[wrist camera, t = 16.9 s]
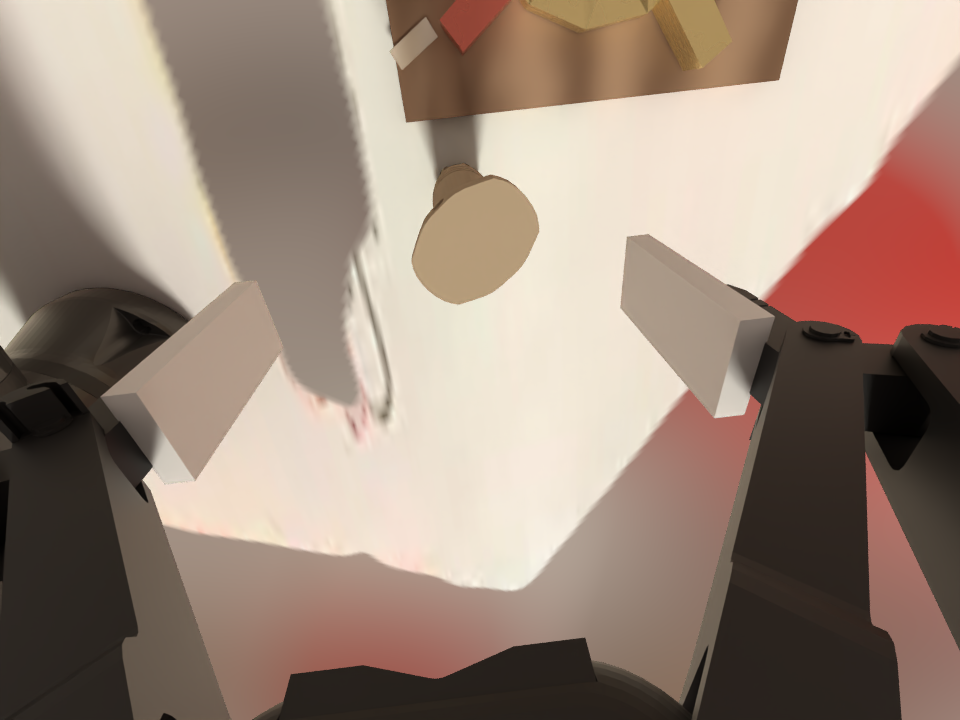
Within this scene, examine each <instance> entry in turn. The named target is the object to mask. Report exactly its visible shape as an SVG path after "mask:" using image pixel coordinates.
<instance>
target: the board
mask: <svg viewBox="0 0 960 720" xmlns="http://www.w3.org/2000/svg"><path fill="white" fill-rule="evenodd" d="M455 1H456V0H386V3H387V9H388V15H389V21H390V27H391V33H392V39H393V45H394V48H392V49H391V50H390V53H391V54H392V56H393V57H394V59H395V60H396V63H397V70H398V76H399V82H400V88H401V94H402V100H403V106H404V112H405V118H406V122H415V121H423V120H432V119H441V118H450V117H459V116H467V115H476V114H485V113H494V112H503V111H511V110H520V109H529V108H538V107H547V106H556V105H564V104H573V103H582V102H591V101H600V100H608V99H617V98H626V97H635V96H644V95H652V94H661V93H670V92H679V91H688V90H696V89H705V88H714V87H723V86H732V85H740V84H749V83H758V82H767V81H776V80H779V78H780V74H781V69H782V65H783V61H784V57H785V53H786V49H787V44H788V40H789V36H790V32H791V28H792V23H793V19H794V15H795V11H796V7H797V3H798V0H714V1H715V3H716V5H717V7H718V10H719V12H720V14H721V17H722V19H723V21H724V23H725V26H726V28H727V30H728V32H729V35H730V37H731V39H732V42H731V43H730V44H729V45H728V46H727V47H725V48H724V49H723V50H722V51H721V52H720V53H719V54H718V55H716V56H715V57H714V58H713V59H712V60H711V61H710V62H709V63H708V64H706V65H705V66H704V67H703V68H700V69H693V70H686V71H683V70H682V68H681V66H680V64H679V63H678V61H677V59H676V57H675V55H674V53H673V51H672V49H671V47H670V45H669V43H668V41H667V39H666V37H665V35H664V33H663V31H662V29H661V27H660V25H659V23H658V21H657V19H656V18H655V16H654V14H653V12H652V10H650V11H649V12H648V14H646V15H643V16H641V17H639V18H636V19H632V20H628V21H624V22H620V23H616V24H613V25H609V26H605V27H601V28H597V29H593V30H590V31H586V32H582V33H577V32H575V31H573V30H571V29H568V28H566V27H564V26H561V25H559V24H557V23H555V22H552V21H550V20H548V19H545V18H543V17H541V16H539V15H536V14H534V13H532V12H530V11H527V10H525V9H524V7H523V6H522V4H521V3H520V1H519V0H512V1H511V2H510V3H509V4H508V5H507V6H506V7H505V9H504V10H503V11H502V12H501V13H500V14H499V15H498V17H497V18H496V19H495V20H494V21H493V22H492V23H491V25H490V26H489V27H488V28H487V29H486V30H485V31H484V32H483V34H482V35H481V36H480V37H479V38H478V39H477V40H476V42H475V43H474V44H473V45H472V46H471V47H470V48H469V49H468V51H467V52H466V53H465V54H464V55H463V56H462V54H461V53H460V52H459V50H458V49H457V48H456V46H455V45H454V44H453V42H452V41H451V40H450V38H449V37H448V36H447V34H446V33H445V32H444V30H443V29H442V28H441V25H440V19H441V17H442V16H443V15H444V14H445V13H446V11H447V10H448V9H449V8H450V7H451V5H452V4H453V3H454V2H455Z"/></svg>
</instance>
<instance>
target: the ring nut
mask: <svg viewBox="0 0 960 720" xmlns="http://www.w3.org/2000/svg"><path fill="white" fill-rule="evenodd" d="M511 1H512V0H456V1H455V2H454V3H453V4H452V5H451V7H450V8H449V9H448V10H447V11H446V13H445V14H444V15H443V16H442V17H441V19H440V25H441V28H442V29H443V30H444V32H445V33H446V34H447V36H448V37H449V38H450V40H451V41H452V42H453V44H454V45H455V46H456V48H457V49H458V50H459V52H460V53H461V54H462V56H463V55H464V54H465V53H466V52H467V51H468V49H469V48H470V47H471V46H472V45H473V44H474V43H475V42H476V40H477V39H478V38H479V37H480V36H481V35H482V34H483V32H484V31H485V30H486V29H487V28H488V27H489V26H490V25H491V23H492V22H493V21H494V20H495V19H496V18H497V17H498V15H499V14H500V13H501V12H502V11H503V10H504V9H505V7H506V6H507V5H508V4H509V3H510V2H511ZM519 1H520V3H521V4H522V6H523V7H524V9H525V10H527V11H530V12H532V13H534V14H536V15H539V16H541V17H543V18H545V19H548V20H550V21H552V22H555V23H557V24H559V25H561V26H564V27H566V28H568V29H571V30H573V31H575V32H577V33H582V32H586V31H590V30H593V29H597V28H601V27H605V26H609V25H613V24H616V23H620V22H624V21H628V20H632V19H636V18H639V17H641V16H643V15H646V14H648V12H649V11H650V10H652V12H653V14H654V16H655V18H656V19H657V21H658V23H659V25H660V27H661V29H662V31H663V33H664V35H665V37H666V39H667V41H668V43H669V45H670V47H671V49H672V51H673V53H674V55H675V57H676V59H677V61H678V63H679V64H680V66H681V68H682V70H683V71H686V70H693V69H700V68H703V67H704V66H705V65H706V64H708V63H709V62H710V61H711V60H712V59H713V58H714V57H715V56H716V55H718V54H719V53H720V52H721V51H722V50H723V49H724V48H725V47H727V46H728V45H729V44H730V43H731V42H732V39H731V37H730V35H729V32H728V30H727V28H726V26H725V23H724V21H723V19H722V17H721V14H720V12H719V10H718V7H717V5H716V3H715V1H714V0H519Z"/></svg>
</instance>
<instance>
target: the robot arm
mask: <svg viewBox="0 0 960 720" xmlns="http://www.w3.org/2000/svg"><path fill="white" fill-rule="evenodd" d="M620 308H621V309H622V310H623V311H624V313H625V314H626V315H627V316H628V317H629V318H630V320H631V321H632V322H633V323H634V324H635V326H636V327H637V328H638V329H639V330H640V331H641V333H642V334H643V335H644V336H645V337H646V338H647V340H648V341H649V342H650V343H651V344H652V346H653V347H654V348H655V349H656V350H657V351H658V353H659V354H660V355H661V356H662V357H663V358H664V360H665V361H666V362H667V363H668V364H669V365H670V367H671V368H672V369H673V370H674V371H675V373H676V374H677V375H678V376H679V377H680V378H681V380H682V381H683V382H684V383H685V384H686V385H687V387H688V388H689V389H690V390H691V391H692V393H693V394H694V395H695V396H696V397H697V398H698V400H699V401H700V402H701V403H702V404H703V405H704V407H705V408H706V409H707V410H708V411H709V412H710V414H711V415H712V416H713V417H714V418H719V417H728V416H735V415H744V414H745V411H746V407H747V404H748V401H749V398H750V395H752V396H753V397H754V398H755V399H756V400H757V401H758V402H759V403H760V404H761V407H760V410H759V413H758V416H757V419H756V422H755V425H754V428H753V431H752V433H751V437H750V440H751V442H750V445H749V449H748V453H747V457H746V460H745V464H744V468H743V472H742V475H741V479H740V483H739V486H738V490H737V494H736V498H735V501H734V505H733V509H732V513H731V516H730V520H729V524H728V528H727V531H726V535H725V539H724V543H723V546H722V550H721V554H720V558H719V561H718V565H717V569H716V572H715V577H714V580H713V584H712V588H711V591H710V595H709V599H708V602H707V606H706V610H705V614H704V617H703V621H702V625H701V629H700V632H699V636H698V640H697V643H696V647H695V651H694V654H693V658H692V662H691V665H690V669H689V671H688V675H687V678H686V681H685V684H684V687H683V691H682V694H681V697H680V701H679V703H678V702H677V701H675V700H674V699H673V698H672V697H670V696H669V695H668V694H666V693H665V692H664V691H662V690H661V689H659V688H658V687H656V686H655V685H653V684H651V683H649V682H648V681H646V680H645V679H643V678H641V677H639V676H637V675H635V674H633V673H631V672H629V671H626V670H624V669H622V668H619V667H615V666H612V665H609V664H606V663H602V662H597V661H592V660H591V658H590V654H589V650H588V647H587V643H586V639H585V638H579V639H570V640H562V641H554V642H547V643H539V644H530V645H523V646H514V647H512V648H509V649H507V650H505V651H502V652H500V653H498V654H496V655H493V656H491V657H489V658H487V659H484V660H482V661H480V662H478V663H476V664H473V665H471V666H469V667H466V668H464V669H462V670H460V671H457V672H455V673H453V674H450V675H448V676H446V677H443V678H439V679H431V678H426V677H421V676H415V675H410V674H405V673H400V672H395V671H390V670H384V669H379V668H374V667H369V666H364V665H362V666H355V667H347V668H338V669H331V670H323V671H314V672H306V673H298V674H291V676H290V680H289V683H288V687H287V691H286V695H285V698H284V702H281V703H279V704H277V705H275V706H274V707H272V708H270V709H269V710H267V711H265V712H263V713H262V714H260V715H258V716H257V717H256V718H254V719H253V720H902V719H901V707H900V692H899V678H898V665H897V658H896V652H895V646H894V643H893V641H892V639H891V637H890V635H889V634H888V632H887V631H884V630H882V629H880V628H878V627H875V626H873V625H872V623H871V617H870V600H869V568H868V567H869V566H868V531H867V497H866V463H865V452H866V454H867V456H868V458H869V460H870V462H871V464H872V466H873V469H874V471H875V473H876V475H877V477H878V479H879V481H880V483H881V485H882V488H883V490H884V492H885V494H886V496H887V498H888V500H889V502H890V504H891V506H892V509H893V511H894V513H895V515H896V517H897V519H898V521H899V523H900V525H901V527H902V530H903V532H904V534H905V536H906V538H907V540H908V542H909V544H910V547H911V549H912V551H913V553H914V555H915V557H916V559H917V561H918V563H919V565H920V568H921V570H922V572H923V574H924V576H925V578H926V580H927V582H928V585H929V587H930V588H931V591H932V593H933V595H934V597H935V599H936V601H937V603H938V606H939V608H940V610H941V612H942V614H943V616H944V618H945V620H946V622H947V624H948V627H949V629H950V631H951V633H952V635H953V637H954V639H955V641H956V644H957V645H958V648H959V650H960V328H956V327H955V328H952V326H947V325H939V326H938V325H931V324H915V325H910V326H906V327H904V328H903V329H902V330H901V331H900V333H899V335H898V337H897V339H896V342H895V343H894V345H889V344H868V343H862V340H861V339H860V337H859V335H857V334H856V333H854V332H853V331H851V330H849V329H847V328H844V327H842V326H839V325H835V324H831V323H827V322H819V321H799V322H796V321H794V320H792V319H791V318H789V317H788V316H786V315H784V314H783V313H781V312H779V311H778V310H776V309H775V308H773V307H771V306H768V304H767V303H765V302H764V301H762V300H758V298H757V297H756V296H754V295H752V294H751V293H749V292H748V291H746V290H743V289H740V288H737V287H734V286H731V285H726V284H724V283H723V282H721V281H720V280H718V279H717V278H715V277H713V276H712V275H710V274H709V273H707V272H706V271H704V270H703V269H701V268H700V267H698V266H696V265H695V264H693V263H692V262H690V261H689V260H687V259H686V258H684V257H683V256H681V255H680V254H678V253H676V252H675V251H673V250H672V249H670V248H669V247H667V246H666V245H664V244H663V243H661V242H660V241H658V240H656V239H655V238H653V237H652V236H650V235H649V234H647V235H638V236H630V237H627V242H626V253H625V264H624V274H623V285H622V296H621V307H620ZM282 349H283V345H282V343H281V340H280V338H279V335H278V333H277V330H276V328H275V325H274V323H273V320H272V318H271V315H270V313H269V310H268V308H267V306H266V303H265V301H264V298H263V296H262V293H261V291H260V288H259V286H258V283H257V281H256V280H254V281H245V282H237V283H234V284H232V285H231V286H230V287H229V288H228V289H226V290H225V291H224V292H223V293H222V294H221V295H219V296H218V297H217V298H216V299H215V300H214V301H212V302H211V303H210V304H209V305H208V306H206V307H205V308H204V309H203V310H202V311H201V312H199V313H198V314H197V315H196V316H195V317H194V318H192V319H191V320H190V321H189V322H188V321H187V320H185V319H184V318H183V317H181V316H180V315H179V314H177V313H176V312H174V311H173V310H171V309H169V308H168V307H166V306H164V305H162V304H160V303H158V302H156V301H154V300H152V299H149V298H147V297H144V296H141V295H138V294H135V293H132V292H127V291H123V290H118V289H110V288H90V289H82V290H78V291H75V292H72V293H69V294H67V295H65V296H63V297H61V298H59V299H57V300H55V301H53V302H51V303H49V304H47V305H45V306H43V307H42V308H40V309H39V310H38V311H36V312H35V313H34V314H33V315H32V316H31V317H30V318H29V319H28V321H27V322H26V323H25V325H24V326H23V327H22V328H21V329H20V331H19V332H18V333H17V334H16V336H15V337H14V338H13V339H12V341H11V342H10V343H9V345H8V346H7V347H6V348H5V350H4V349H3V348H2V347H1V346H0V720H231V718H230V716H229V713H228V711H227V708H226V705H225V702H224V699H223V697H222V694H221V691H220V688H219V685H218V682H217V679H216V676H215V674H214V671H213V668H212V665H211V662H210V659H209V657H208V654H207V651H206V648H205V645H204V642H203V639H202V637H201V634H200V631H199V628H198V625H197V622H196V619H195V616H194V614H193V611H192V608H191V605H190V602H189V599H188V597H187V594H186V591H185V588H184V586H183V582H182V579H181V576H180V573H179V571H178V568H177V565H176V562H175V559H174V556H173V554H172V551H171V548H170V545H169V542H168V539H167V537H166V534H165V530H164V528H163V525H162V522H161V519H160V516H159V513H158V510H157V508H156V505H155V502H154V499H153V496H152V493H151V490H150V489H149V488H148V486H147V485H146V484H145V483H144V481H143V480H142V479H143V478H144V477H145V476H146V474H147V473H148V472H149V471H150V469H151V468H153V469H154V471H155V472H156V473H157V475H158V476H159V478H160V479H161V480H162V482H163V483H164V484H173V483H182V482H190V481H196V479H197V477H198V476H199V474H200V473H201V471H202V470H203V468H204V467H205V465H206V464H207V462H208V461H209V459H210V458H211V456H212V455H213V453H214V452H215V450H216V449H217V447H218V446H219V444H220V443H221V441H222V440H223V438H224V437H225V435H226V434H227V432H228V431H229V429H230V428H231V426H232V425H233V423H234V422H235V420H236V419H237V417H238V416H239V414H240V413H241V411H242V410H243V408H244V407H245V405H246V404H247V402H248V401H249V399H250V398H251V396H252V395H253V393H254V392H255V390H256V389H257V387H258V386H259V384H260V383H261V381H262V379H263V378H264V376H265V375H266V373H267V372H268V370H269V369H270V367H271V366H272V364H273V363H274V361H275V360H276V358H277V357H278V355H279V354H280V352H281V351H282Z"/></svg>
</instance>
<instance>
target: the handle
mask: <svg viewBox="0 0 960 720" xmlns="http://www.w3.org/2000/svg"><path fill="white" fill-rule="evenodd" d="M538 233H539V223H538V219H537V215H536V212H535V210H534V208H533V206H532V205H531V203H530V202H529V200H528V199H527V197H526V196H525V195H524V194H523V193H522V192H521V191H520V190H519V189H518V188H517V187H516V186H515V185H514V184H512V183H511V182H509V181H508V180H506V179H504V178H501V177H499V176H494V175H488V176H485V177H483V176H482V175H481V174H480V173H479V172H478V171H477V170H475V169H474V168H472V167H470V166H469V165H467V164H464V163H462V164H458V165H453V166H450V167H445V168H444V169H443V170H442V171H441V173H440V176H439V177H438V179H437V181H436V184H435V187H434V191H433V209H432V210H431V211H430V212H429V214H428V215H427V216H426V218H425V219H424V222H423V224H422V227H421V229H420V232H419V235H418V238H417V241H416V244H415V248H414V251H413V255H412V265H413V269H414V271H415V274H416V276H417V277H418V279H419V280H420V282H421V283H422V284H423V285H424V286H425V287H426V289H427V290H428V291H430V292H431V293H432V294H434V295H435V296H436V297H438V298H440V299H442V300H443V301H446V302H449V303H453V304H462V303H465V302H469V301H472V300H475V299H478V298H480V297H483V296H486V295H488V294H490V293H492V292H494V291H495V290H496V289H498V288H499V287H500V286H502V285H503V284H504V283H505V282H506V281H507V280H508V279H509V278H510V277H512V276H513V275H514V274H515V273H516V272H517V271H518V270H519V269H520V268H521V266H522V265H523V264H524V262H525V260H526V259H527V257H528V255H529V253H530V251H531V249H532V246H533V244H534V242H535V240H536V237H537V235H538Z"/></svg>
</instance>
